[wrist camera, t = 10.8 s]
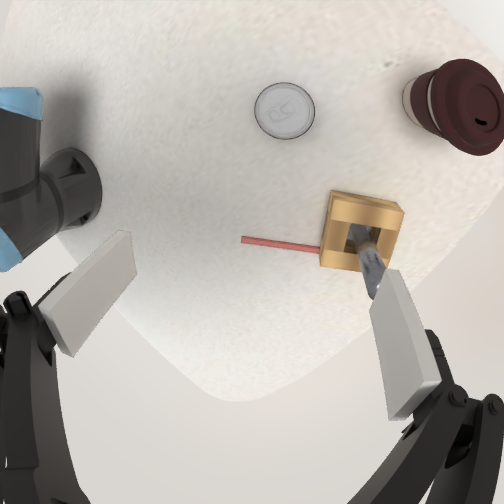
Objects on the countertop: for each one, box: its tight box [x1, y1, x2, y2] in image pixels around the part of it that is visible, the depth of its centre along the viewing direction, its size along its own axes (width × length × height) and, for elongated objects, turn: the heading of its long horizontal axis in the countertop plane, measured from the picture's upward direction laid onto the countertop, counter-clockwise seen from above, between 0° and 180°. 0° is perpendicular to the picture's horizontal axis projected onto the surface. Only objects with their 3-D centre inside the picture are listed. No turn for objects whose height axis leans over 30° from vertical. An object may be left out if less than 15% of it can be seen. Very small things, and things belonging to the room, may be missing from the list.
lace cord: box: [241, 236, 320, 254], centre depth 42 cm, size 12×1×1 cm, turn 86°
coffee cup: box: [403, 59, 504, 156], centre depth 22 cm, size 10×10×15 cm
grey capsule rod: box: [349, 223, 386, 300], centre depth 33 cm, size 3×3×15 cm
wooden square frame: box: [319, 190, 404, 272], centre depth 37 cm, size 10×10×4 cm
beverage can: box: [255, 83, 315, 139], centre depth 28 cm, size 6×6×12 cm
